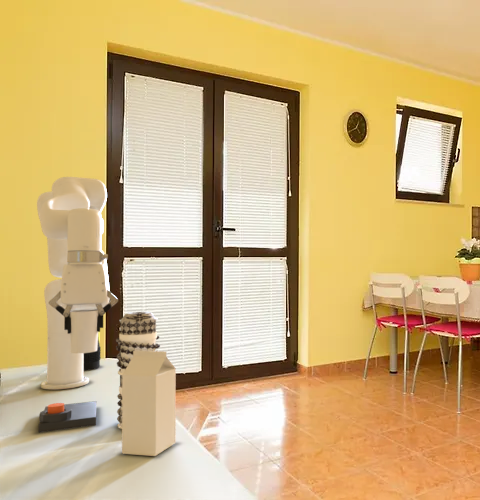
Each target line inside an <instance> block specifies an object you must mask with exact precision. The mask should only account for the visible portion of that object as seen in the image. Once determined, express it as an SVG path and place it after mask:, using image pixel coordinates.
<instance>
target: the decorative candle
mask: <svg viewBox="0 0 480 500" xmlns="http://www.w3.org/2000/svg"><path fill="white" fill-rule="evenodd" d="M158 319H159V318H157V317H155V314H153V312H150V311H131V312H126V313H125V314H124V315H123V317H121V319H119V327H120V328H119V331H120V332H119V333H118V336H119V337H117V338H116V339H115V342H116V344H117V345H116V346H115V349H116V351H118V354H117V355H116V359H117V360H118V361H117V362H116V366H117V367H118V368H119V369H118V371H117V374H118V375H119V386H118V394H117V396H116V397H117V399H118V402H116V404H117V406H118V407H119V408H118V409H117V411H116V413H117V415H118V416H117V418H116V420H117V422H118V423H117V428H118V429H120V430H122V374H123V373H124V371H125V369H126V368H127V366H128V364H129V362H130V361H131V359H132V357H133V351H157V350H158V349H159V348H161V345H160V344H159V343H157V340H159V339H160V336H159V335H158V331H157V320H158Z"/></svg>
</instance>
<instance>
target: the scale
mask: <svg viewBox="0 0 480 500" xmlns="http://www.w3.org/2000/svg"><path fill="white" fill-rule="evenodd" d="M97 402H98V401H97V400H93V401H84V402H83V401H82V402H75V403H67V404H65V403H64V412H60V413H54V414H48V405H47V406H45V407H44V410H41V411H40V412H39V423H38V433H46V432H53V431H54V432H55V431H62V430H70V429H77V428H78V429H79V428H86V427H92V426H96V425H97Z"/></svg>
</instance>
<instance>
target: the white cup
mask: <svg viewBox="0 0 480 500" xmlns="http://www.w3.org/2000/svg"><path fill="white" fill-rule="evenodd" d="M69 314H70V318H71V333H70V341H71V353H90V352H95V351H97V345H98V331H97V317H98V314H99V312H98V310H93V309H91V310H74V311H70V313H69Z"/></svg>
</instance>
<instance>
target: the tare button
mask: <svg viewBox="0 0 480 500" xmlns="http://www.w3.org/2000/svg"><path fill="white" fill-rule="evenodd" d="M64 405H65V403H63V402H55V403H50V404H48V405H47V406H48V414H54V413H60V412H64Z"/></svg>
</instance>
